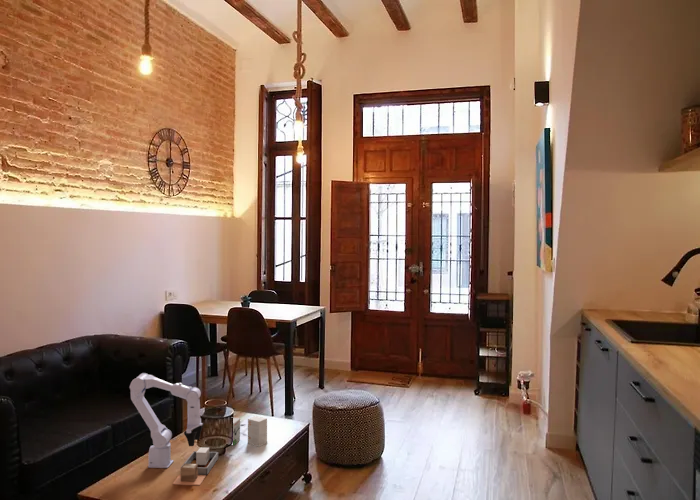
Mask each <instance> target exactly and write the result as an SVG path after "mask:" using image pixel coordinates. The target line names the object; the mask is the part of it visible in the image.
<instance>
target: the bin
mask: <svg viewBox="0 0 700 500" xmlns="http://www.w3.org/2000/svg"><path fill="white" fill-rule="evenodd" d="M197 451H198V450H196V451H193V452H192V453H191V454H190V455H189V456H188V458H187V459H186V461H185V462H184V463H183V464H182V465H181V466H180V468H181V467H182V466H183V465H184V464H192V462H193V460H194V459H196V452H197ZM209 459H211V460H210V462H208V465H207V466H206V467H202V466H201V467H199V466H198V475H206V476H207V475H208V474H209V473H210V471H211V470H212V468H213V467H214V466H215V464H216V463H217V461H218V460H219V451H209Z"/></svg>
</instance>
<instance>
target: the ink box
mask: <svg viewBox="0 0 700 500" xmlns="http://www.w3.org/2000/svg"><path fill="white" fill-rule="evenodd" d="M232 418H233V447H234V446H235V445H236V444H237V443H238V442H239V441H240V440H241V418H239V417H232Z"/></svg>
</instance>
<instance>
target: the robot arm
mask: <svg viewBox="0 0 700 500" xmlns="http://www.w3.org/2000/svg"><path fill="white" fill-rule="evenodd" d="M128 388H129V390H130V400H131V402H132V404H133V405H134V406H135V408H136V410H137V412H138V414H139V415H140V416H141V418H142V419H143V421H144V422H145V425H146V426H147V428H149V431H150V438H151V439H152V444H153V445H150V447H149V450H148V466H147V468H153V469H155V468H158V469H168V468H169V467H170V466H171V465H172V464H173V462H175V461H174V459H171V456H172V455H171V451H172V450H171V446H172V445H171V444H172V443H171V439H172V437H173V433H172V431H171V430H170V429H168V427H166V425H165V424H162V423H161V421H160V419H159V418H158V417H157V415H156V413H155V412H154V410H153V409H152V407H151V405H150V403H149V402H148V400H147V399H146V398H145V393H146V390H147V389H150V388H156V389H157V388H158V389H161V390H165V391H168V392H170V393H171V395H172V396H175V397H177V398H178V397H179V398H180V399H184V400H185V401H186V403H187V407H186V408H187V410H186V411H187V423H186V427H187V428H186V430H184V433H183V434H184V436H185V438H186V440H187V444H188V447H194V446H195V441H199V440H200V438H201V433H202V429H203V427H204V426H205V425H204V422H202V418H201V402H200V401H201V400H200V397H201V396H202V395H201V394H202V393H201V390H200V388H198V387H197V386H193V387H192V386H191V385H190V386H189V385H184V384H183V383H182V382H176V383H170V382H168V381H165V380H164V379H160V378H158V377H156V376H155V375H153V374H148V373H146V372H142V373H140V374H139V375H138V376H136V378H134V379H132V381H131V382H130V384H129V387H128Z"/></svg>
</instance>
